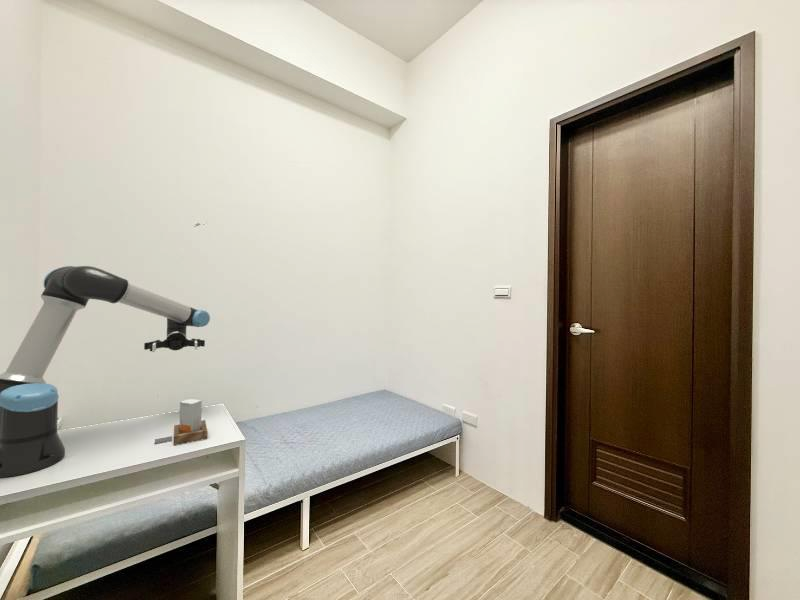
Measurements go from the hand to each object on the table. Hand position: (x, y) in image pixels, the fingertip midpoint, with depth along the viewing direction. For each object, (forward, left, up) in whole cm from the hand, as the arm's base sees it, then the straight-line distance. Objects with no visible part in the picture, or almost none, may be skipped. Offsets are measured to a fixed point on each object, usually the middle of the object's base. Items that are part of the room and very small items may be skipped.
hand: (175, 347), depth 125 cm
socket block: (+5, -11, -32) cm, 34 cm away
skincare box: (+5, -11, -31) cm, 33 cm away
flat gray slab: (-3, -10, -32) cm, 33 cm away
